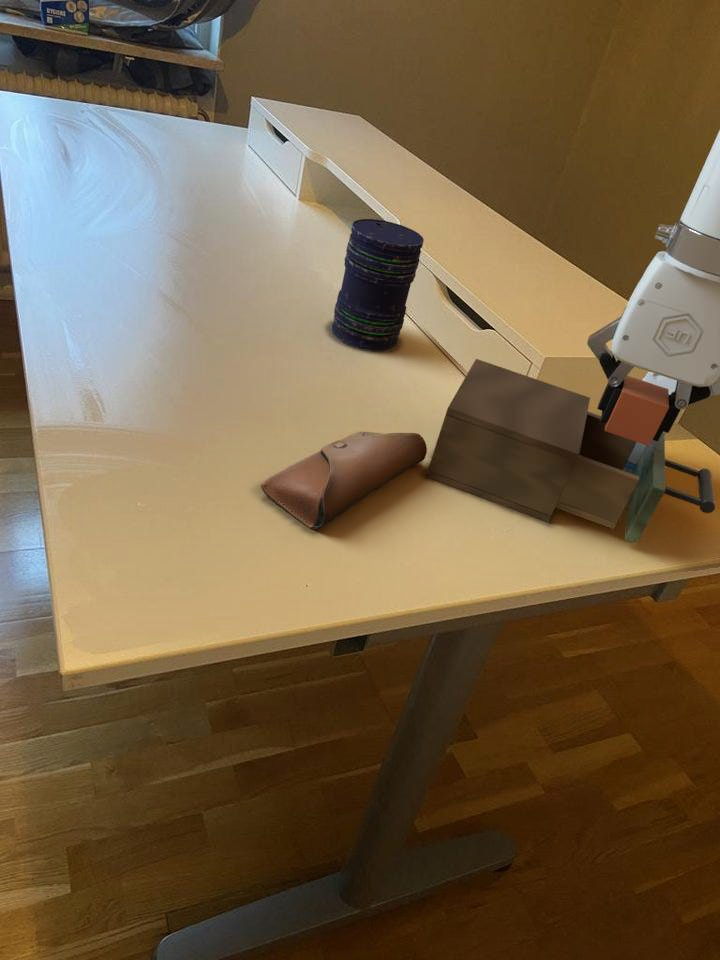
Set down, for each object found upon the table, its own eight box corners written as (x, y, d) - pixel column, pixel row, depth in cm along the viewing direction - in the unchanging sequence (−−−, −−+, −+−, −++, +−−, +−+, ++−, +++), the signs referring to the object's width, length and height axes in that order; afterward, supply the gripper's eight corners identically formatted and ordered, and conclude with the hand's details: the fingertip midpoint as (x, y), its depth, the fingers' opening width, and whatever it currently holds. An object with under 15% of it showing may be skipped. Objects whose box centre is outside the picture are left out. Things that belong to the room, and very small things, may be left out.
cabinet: (563, 459, 88) (590, 397, 83) (548, 522, 77) (579, 454, 72) (455, 421, 90) (476, 358, 86) (425, 476, 79) (447, 407, 74)
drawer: (688, 499, 85) (716, 451, 81) (692, 564, 74) (724, 512, 70) (535, 445, 88) (555, 395, 84) (518, 500, 77) (540, 446, 73)
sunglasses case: (362, 427, 83) (399, 396, 79) (398, 478, 83) (437, 450, 78) (253, 487, 70) (289, 454, 66) (296, 547, 70) (335, 519, 65)
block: (649, 427, 78) (668, 389, 75) (649, 446, 74) (669, 407, 72) (607, 412, 79) (624, 374, 76) (604, 431, 75) (622, 391, 72)
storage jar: (410, 350, 104) (438, 247, 96) (349, 353, 100) (373, 244, 91) (377, 319, 111) (401, 220, 103) (319, 320, 106) (338, 216, 98)
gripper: (617, 234, 64) (545, 413, 74) (816, 294, 61) (713, 472, 72) (620, 217, 70) (553, 385, 81) (802, 271, 68) (709, 438, 78)
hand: (629, 424), depth 76 cm, fingers closed on block, 4 cm apart
